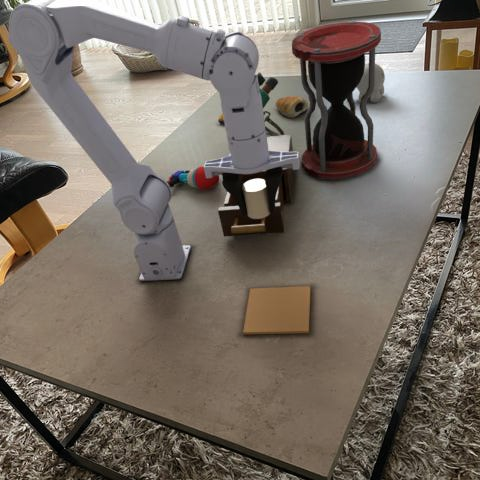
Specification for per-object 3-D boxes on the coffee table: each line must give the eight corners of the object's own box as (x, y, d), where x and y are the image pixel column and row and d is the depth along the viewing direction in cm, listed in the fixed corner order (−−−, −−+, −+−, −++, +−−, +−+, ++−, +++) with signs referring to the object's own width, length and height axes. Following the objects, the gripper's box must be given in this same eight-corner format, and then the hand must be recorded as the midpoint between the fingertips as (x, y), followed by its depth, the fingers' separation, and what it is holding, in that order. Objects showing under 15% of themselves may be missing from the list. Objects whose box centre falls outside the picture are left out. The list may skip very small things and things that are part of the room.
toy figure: (162, 195, 112) (211, 196, 103) (154, 175, 109) (203, 174, 100) (182, 181, 116) (231, 180, 107) (175, 161, 114) (225, 159, 105)
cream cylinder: (270, 218, 78) (266, 190, 75) (245, 220, 79) (240, 193, 76) (272, 204, 81) (268, 177, 78) (248, 206, 82) (243, 179, 78)
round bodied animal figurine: (343, 92, 132) (342, 58, 126) (387, 93, 126) (389, 58, 120) (334, 103, 128) (332, 69, 122) (379, 105, 122) (380, 69, 116)
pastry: (269, 110, 131) (268, 96, 129) (289, 102, 133) (288, 87, 131) (291, 119, 125) (289, 104, 123) (311, 110, 127) (310, 95, 125)
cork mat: (308, 333, 73) (308, 331, 72) (243, 334, 75) (242, 332, 74) (310, 288, 79) (310, 285, 79) (250, 290, 82) (250, 288, 81)
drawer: (282, 245, 87) (278, 218, 83) (220, 249, 90) (214, 223, 85) (288, 193, 99) (285, 167, 95) (233, 197, 101) (228, 172, 97)
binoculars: (243, 147, 126) (207, 108, 115) (278, 103, 124) (244, 59, 113) (273, 166, 116) (236, 125, 106) (311, 118, 114) (278, 72, 104)
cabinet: (290, 203, 98) (286, 169, 93) (230, 208, 101) (222, 174, 95) (294, 166, 108) (291, 134, 103) (239, 172, 111) (233, 140, 105)
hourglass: (322, 139, 115) (316, 20, 97) (388, 148, 107) (395, 20, 89) (288, 174, 106) (275, 50, 89) (357, 186, 98) (357, 52, 81)
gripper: (297, 113, 72) (304, 194, 81) (202, 124, 75) (219, 201, 84) (295, 135, 67) (302, 218, 76) (194, 146, 70) (213, 225, 79)
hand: (259, 211), depth 80 cm, fingers closed on cream cylinder, 4 cm apart
